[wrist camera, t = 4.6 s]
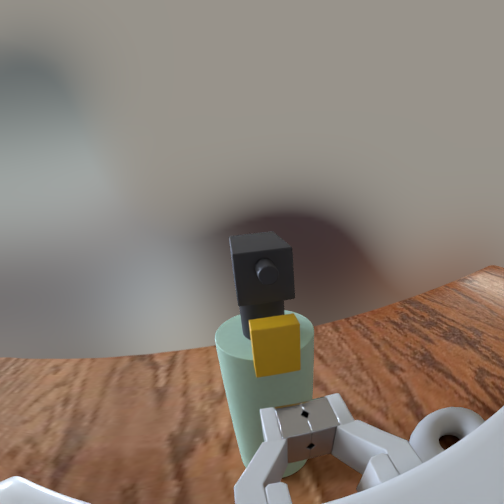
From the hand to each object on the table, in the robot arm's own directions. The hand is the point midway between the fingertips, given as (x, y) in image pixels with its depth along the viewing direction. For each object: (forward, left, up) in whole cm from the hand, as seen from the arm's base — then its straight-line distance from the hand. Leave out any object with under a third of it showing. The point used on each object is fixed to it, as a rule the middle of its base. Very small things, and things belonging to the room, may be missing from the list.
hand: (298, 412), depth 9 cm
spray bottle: (0, +10, -18) cm, 20 cm away
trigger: (0, +5, -1) cm, 5 cm away
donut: (+17, +2, -18) cm, 25 cm away
